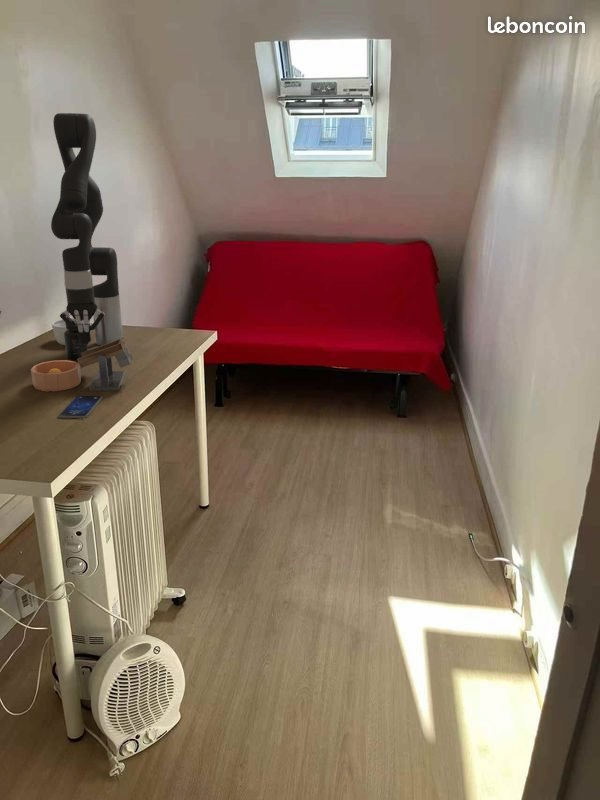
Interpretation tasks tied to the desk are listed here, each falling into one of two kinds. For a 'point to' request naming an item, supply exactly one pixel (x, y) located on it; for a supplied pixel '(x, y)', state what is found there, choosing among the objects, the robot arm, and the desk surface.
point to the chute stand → (106, 376)
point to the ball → (54, 371)
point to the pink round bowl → (56, 375)
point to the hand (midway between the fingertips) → (86, 343)
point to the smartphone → (80, 407)
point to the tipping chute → (107, 353)
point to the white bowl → (61, 330)
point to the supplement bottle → (73, 343)
